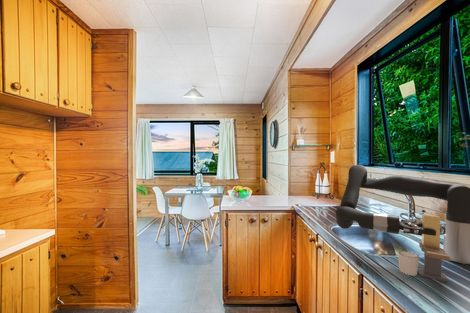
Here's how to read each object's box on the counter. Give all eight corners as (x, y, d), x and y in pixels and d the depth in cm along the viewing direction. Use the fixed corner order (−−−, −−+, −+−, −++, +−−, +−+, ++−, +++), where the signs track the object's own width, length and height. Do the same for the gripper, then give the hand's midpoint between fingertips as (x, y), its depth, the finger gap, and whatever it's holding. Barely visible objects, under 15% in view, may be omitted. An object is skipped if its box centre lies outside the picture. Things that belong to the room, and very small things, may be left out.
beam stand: (447, 281, 88) (448, 258, 88) (419, 275, 92) (420, 253, 92) (444, 276, 92) (445, 254, 92) (418, 270, 96) (418, 249, 96)
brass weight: (439, 248, 93) (440, 216, 94) (423, 245, 96) (423, 215, 97) (437, 246, 97) (437, 215, 99) (421, 243, 100) (422, 214, 101)
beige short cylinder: (395, 266, 99) (395, 249, 99) (414, 269, 97) (415, 252, 97) (401, 274, 92) (401, 256, 92) (422, 277, 90) (422, 258, 90)
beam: (451, 261, 82) (451, 256, 82) (425, 256, 85) (425, 252, 85) (439, 249, 99) (439, 245, 99) (418, 245, 102) (418, 242, 102)
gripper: (385, 228, 111) (430, 234, 103) (385, 236, 99) (437, 244, 90) (385, 211, 111) (430, 217, 103) (386, 218, 99) (437, 224, 90)
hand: (433, 230), depth 97 cm, fingers open, 8 cm apart
